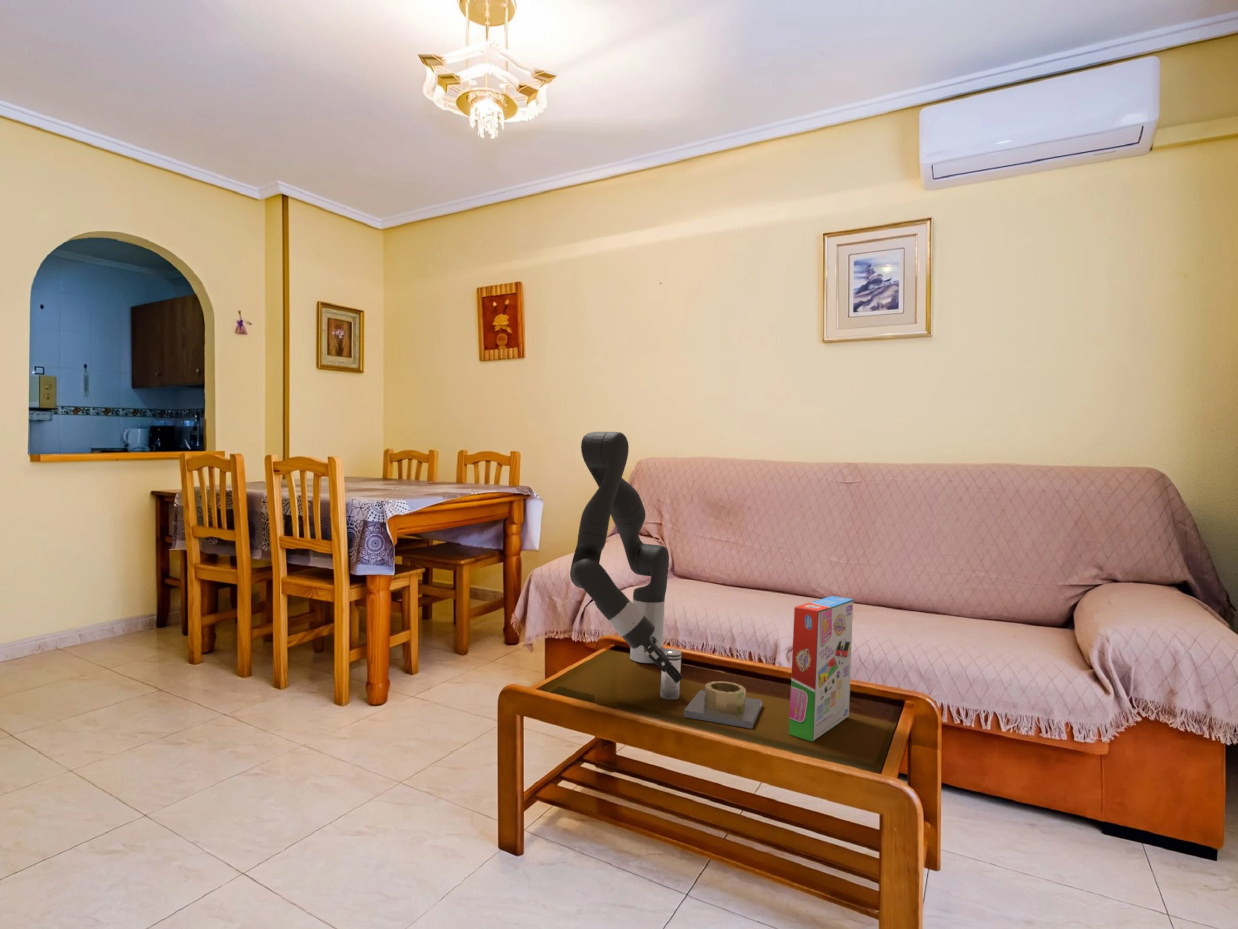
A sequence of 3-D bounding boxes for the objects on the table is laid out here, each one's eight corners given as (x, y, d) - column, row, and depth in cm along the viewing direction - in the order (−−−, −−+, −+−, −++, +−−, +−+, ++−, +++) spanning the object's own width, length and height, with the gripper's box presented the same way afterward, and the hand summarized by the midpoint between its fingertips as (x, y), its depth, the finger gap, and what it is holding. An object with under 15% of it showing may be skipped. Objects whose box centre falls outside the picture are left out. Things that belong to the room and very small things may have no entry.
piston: (662, 692, 164) (665, 647, 164) (681, 695, 162) (683, 650, 163) (657, 697, 160) (659, 651, 160) (676, 701, 158) (679, 654, 158)
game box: (826, 711, 156) (831, 595, 157) (849, 718, 153) (854, 599, 153) (787, 735, 140) (793, 605, 141) (812, 742, 137) (818, 609, 137)
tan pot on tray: (699, 696, 163) (700, 673, 163) (761, 706, 158) (763, 682, 158) (683, 717, 147) (685, 692, 148) (752, 729, 142) (753, 703, 143)
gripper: (644, 620, 154) (693, 675, 154) (641, 607, 168) (686, 658, 168) (620, 641, 154) (669, 697, 154) (619, 627, 168) (664, 678, 168)
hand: (678, 676), depth 161 cm, fingers closed on piston, 4 cm apart
